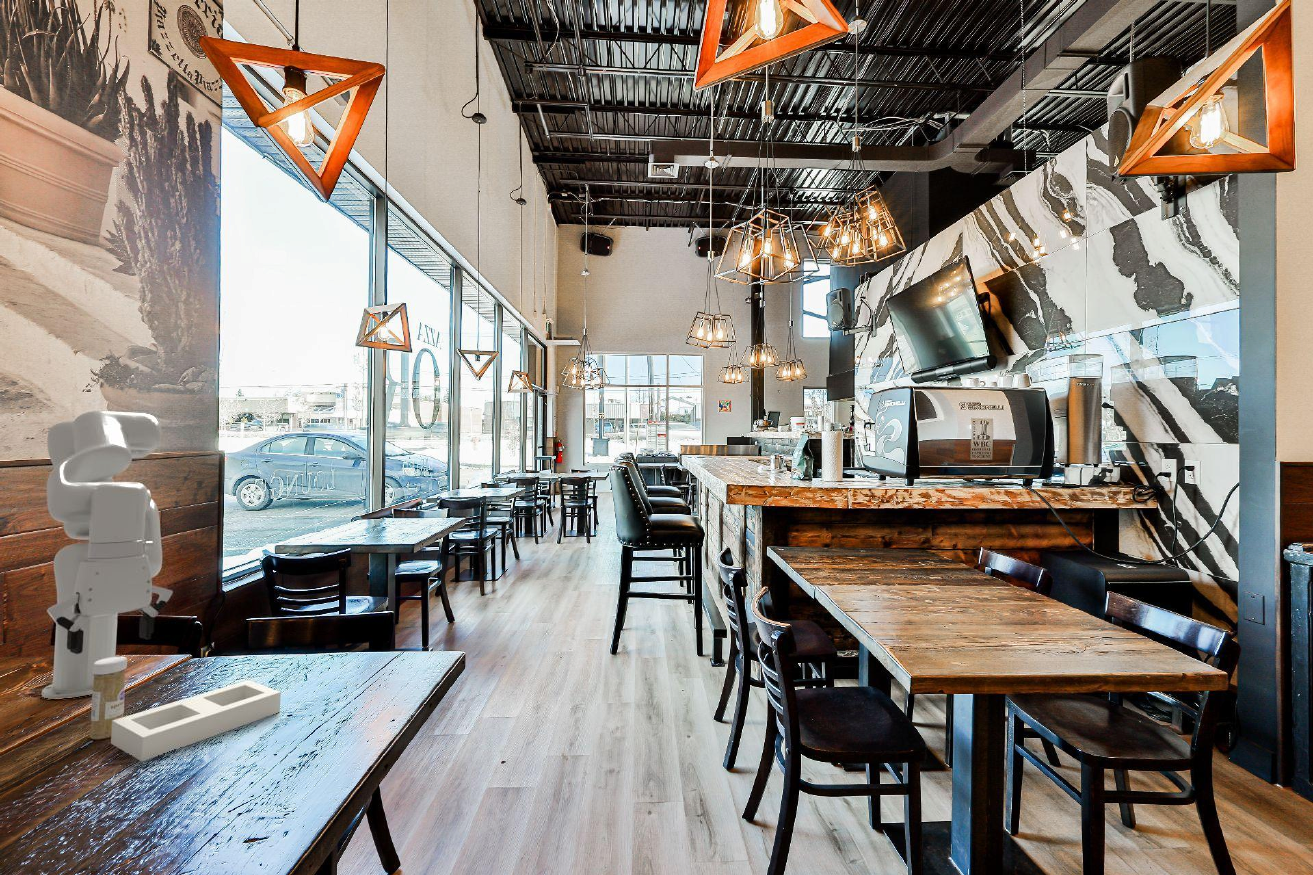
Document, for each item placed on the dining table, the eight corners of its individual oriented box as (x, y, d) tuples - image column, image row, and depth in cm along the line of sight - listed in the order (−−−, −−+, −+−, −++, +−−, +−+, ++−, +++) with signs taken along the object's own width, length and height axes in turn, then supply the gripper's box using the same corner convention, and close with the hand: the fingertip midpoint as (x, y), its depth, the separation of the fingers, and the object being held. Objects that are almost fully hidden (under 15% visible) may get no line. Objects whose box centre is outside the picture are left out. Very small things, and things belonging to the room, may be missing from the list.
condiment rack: (110, 743, 102) (112, 720, 102) (247, 699, 122) (248, 680, 122) (141, 761, 97) (143, 737, 97) (279, 712, 116) (280, 692, 116)
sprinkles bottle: (120, 736, 105) (124, 661, 105) (85, 742, 102) (90, 665, 103) (125, 726, 109) (129, 654, 109) (92, 732, 106) (96, 658, 107)
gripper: (164, 544, 116) (160, 630, 115) (43, 555, 101) (37, 655, 100) (182, 546, 113) (178, 636, 112) (59, 558, 97) (54, 662, 96)
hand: (111, 645), depth 106 cm, fingers open, 9 cm apart
